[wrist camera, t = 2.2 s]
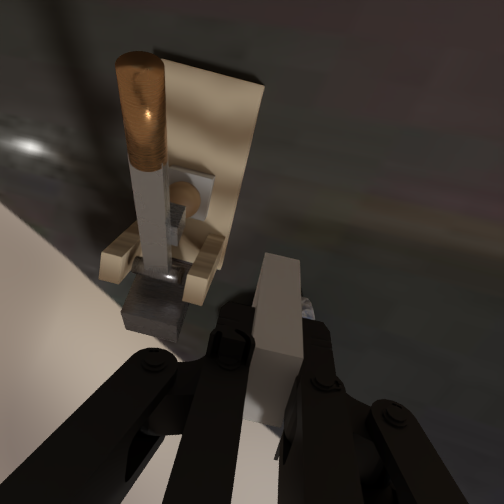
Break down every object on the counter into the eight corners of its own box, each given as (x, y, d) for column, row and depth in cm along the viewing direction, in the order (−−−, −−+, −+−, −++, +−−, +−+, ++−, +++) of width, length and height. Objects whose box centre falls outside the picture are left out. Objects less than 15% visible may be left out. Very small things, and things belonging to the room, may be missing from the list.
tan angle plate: (165, 59, 44) (118, 52, 32) (264, 85, 44) (254, 88, 32) (139, 243, 53) (94, 291, 41) (222, 265, 53) (201, 319, 41)
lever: (113, 16, 24) (53, 93, 20) (211, 42, 24) (172, 125, 20) (148, 273, 51) (125, 329, 47) (195, 286, 51) (176, 342, 47)
